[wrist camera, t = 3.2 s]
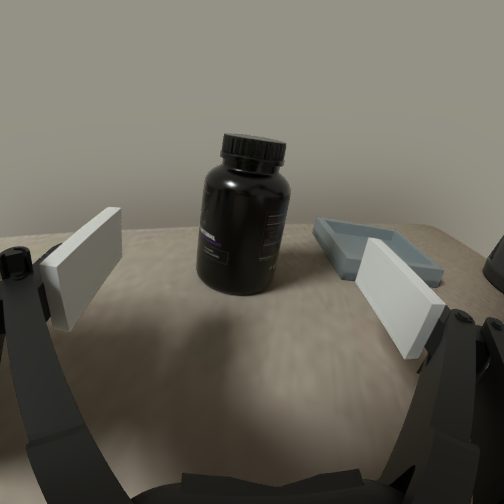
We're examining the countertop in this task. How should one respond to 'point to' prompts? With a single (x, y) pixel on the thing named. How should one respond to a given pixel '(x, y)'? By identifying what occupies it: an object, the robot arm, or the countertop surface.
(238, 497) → the robot arm
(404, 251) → the tray
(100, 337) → the countertop surface
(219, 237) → the supplement bottle
